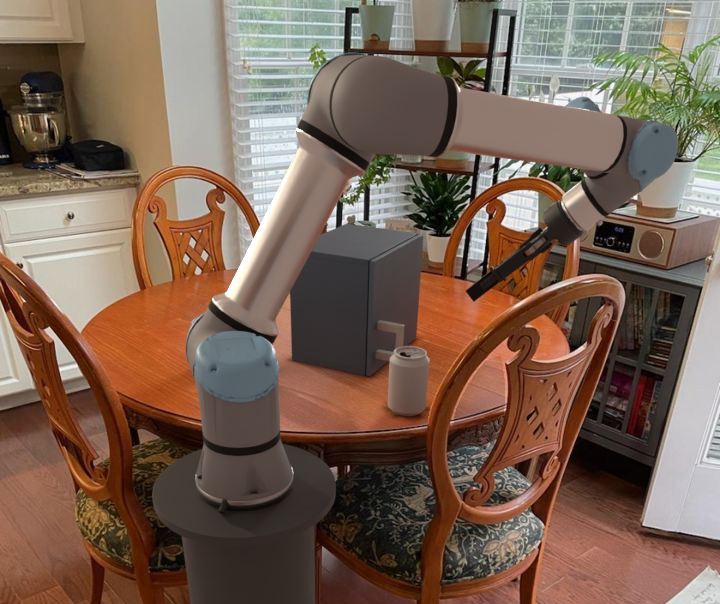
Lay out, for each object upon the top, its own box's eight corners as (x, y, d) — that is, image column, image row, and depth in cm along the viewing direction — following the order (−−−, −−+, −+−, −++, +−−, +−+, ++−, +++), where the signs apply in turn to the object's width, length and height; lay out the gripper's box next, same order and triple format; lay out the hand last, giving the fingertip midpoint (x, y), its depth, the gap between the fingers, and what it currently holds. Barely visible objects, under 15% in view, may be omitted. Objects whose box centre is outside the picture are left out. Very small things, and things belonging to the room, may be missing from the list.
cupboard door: (439, 341, 169) (448, 237, 157) (395, 381, 149) (401, 265, 136) (412, 336, 172) (419, 233, 159) (366, 375, 151) (369, 260, 139)
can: (381, 403, 140) (383, 346, 134) (416, 399, 142) (420, 341, 136) (396, 420, 134) (399, 360, 128) (432, 414, 136) (437, 356, 130)
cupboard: (411, 337, 172) (418, 233, 159) (365, 375, 151) (368, 259, 139) (345, 324, 178) (346, 223, 165) (291, 360, 158) (288, 247, 145)
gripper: (579, 240, 121) (473, 320, 135) (589, 225, 131) (490, 301, 145) (553, 204, 120) (449, 288, 134) (565, 192, 130) (467, 272, 144)
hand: (470, 295), depth 139 cm, fingers closed
